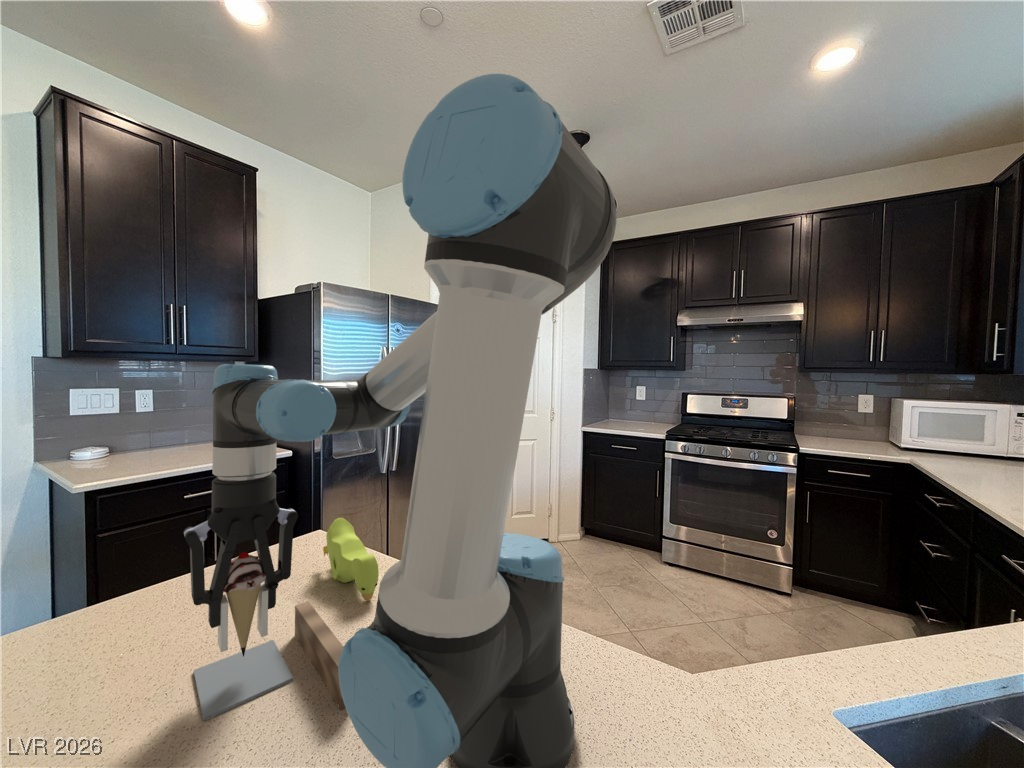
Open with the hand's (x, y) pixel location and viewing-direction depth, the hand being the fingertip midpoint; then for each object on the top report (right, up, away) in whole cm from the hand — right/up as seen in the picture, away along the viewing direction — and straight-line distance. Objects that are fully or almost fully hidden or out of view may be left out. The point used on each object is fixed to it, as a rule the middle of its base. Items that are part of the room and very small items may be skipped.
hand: (243, 638), depth 57 cm
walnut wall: (+10, -6, +3) cm, 12 cm away
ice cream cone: (0, -3, 0) cm, 3 cm away
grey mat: (0, -5, 0) cm, 5 cm away
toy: (+4, -6, +27) cm, 28 cm away
